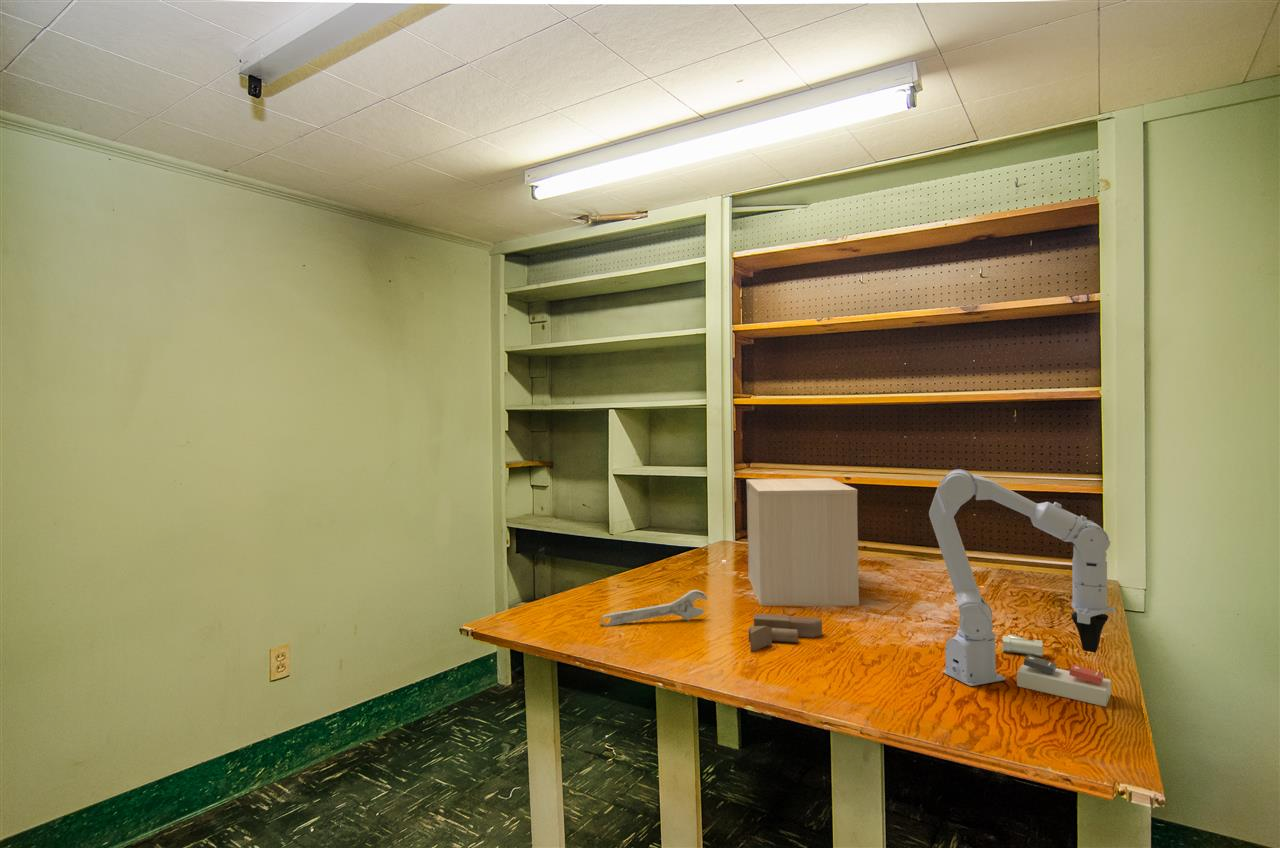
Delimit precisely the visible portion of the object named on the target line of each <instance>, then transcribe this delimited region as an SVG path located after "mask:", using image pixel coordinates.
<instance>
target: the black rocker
mask: <svg viewBox="0 0 1280 848" xmlns="http://www.w3.org/2000/svg"><path fill="white" fill-rule="evenodd" d="M1023 663H1024V665H1026V666H1029V667H1032V668H1035V669H1038V670H1041V671H1043V672H1046V673H1049V674H1052V675H1053V673H1054V672H1055V670H1056V668H1057V664H1058V663H1056V662H1052V661H1049V660H1045V659H1043V658H1041V657H1036V656H1034V655H1027V654H1026V657H1025V658H1024V660H1023Z"/></svg>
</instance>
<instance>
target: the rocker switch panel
mask: <svg viewBox="0 0 1280 848" xmlns="http://www.w3.org/2000/svg"><path fill="white" fill-rule="evenodd" d="M1069 673H1070V670H1067V669H1062V668H1057V667H1056V670H1055V672H1054V673H1053V675H1052V674H1049V673H1046V672H1043V671H1041V670H1038V669H1035V668H1032V667H1029V666H1026V665H1024V662H1023V663H1022V665H1021V666H1020V667H1019V668H1018V670H1017V671H1016V686H1017V687H1020V688H1024V689H1029V690H1032V691H1037V692H1041V693H1045V694H1048V695H1049V694H1050V695H1054V696H1058V697H1063V698H1067V699H1071V700H1076V701H1080V702H1084V703H1088V704H1092V705H1096V706H1100V707H1101V706H1102V707H1107V706H1108V703H1109V701H1110V698H1111V695H1112V680H1111V679H1110V678H1104V679H1103V681H1102V683H1101V684H1097V683H1094V682H1091V681H1088V680H1084V679H1081V678H1078V677H1074V676H1071V675H1069Z"/></svg>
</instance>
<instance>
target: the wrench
mask: <svg viewBox="0 0 1280 848" xmlns="http://www.w3.org/2000/svg"><path fill="white" fill-rule="evenodd" d="M697 599H701V600H706V601H707V600H708V598H707V595H706V593H704V592H703V591H701V590H698V589H692V590H689V591H687V592H686V593H685V594H684V595H682V596H681V597H679V598H677V599H676V600H674V601H671V602H669V603H663V604H659V605H653V606H647V607H641V608H635V609H629V610H624V611H623V610H622V611H617V612H612V613H605V614H603V615H602V616H601V619H600V621H601V625H602V626H604V627H612V626H617V625H622V624H626V623H633V622H638V621H645V620H649V619H653V618H659V617H664V616H670V615H673V616H674V615H676V616H679V617H681V618H682V620H683V621H687V622H689V621H690V619H692V618H697V617H698V616H699V617H700V616H701V615H702V614H704V613H705V609H703V608H700V607H695V606H694V603H695V601H696V600H697ZM605 618H609V619H610V621H609V622H608V623H605V622H604V621H603V620H604V619H605Z"/></svg>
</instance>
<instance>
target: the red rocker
mask: <svg viewBox="0 0 1280 848" xmlns="http://www.w3.org/2000/svg"><path fill="white" fill-rule="evenodd" d="M1069 671H1070V673H1069V675H1071V676H1074V677H1078V678H1081V679H1084V680H1088V681H1091V682H1094V683H1097V684H1101V683H1102V681H1103V679H1104V677H1105V673H1104V672H1102V671H1098V670H1094V669H1091V668H1088V667H1083V666H1081V665H1077V664H1075V663H1074V664H1073V663H1072V665H1071V667H1070V668H1069Z"/></svg>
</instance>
